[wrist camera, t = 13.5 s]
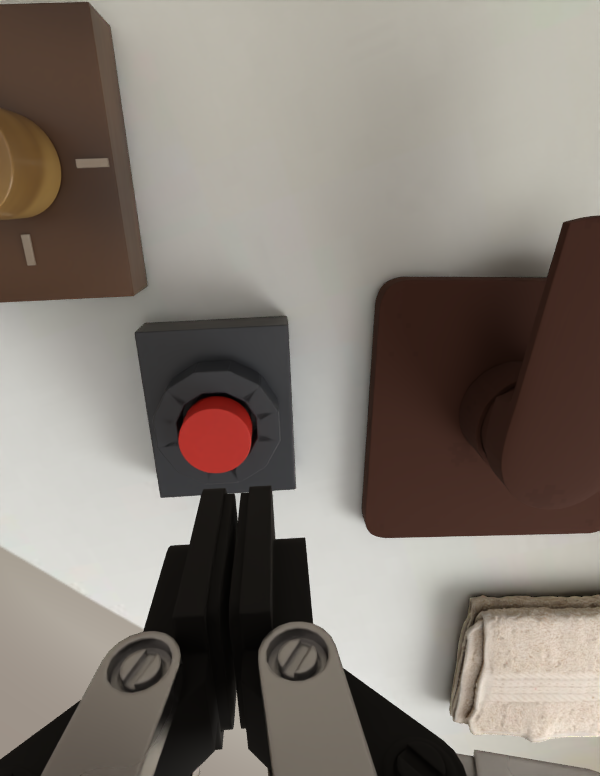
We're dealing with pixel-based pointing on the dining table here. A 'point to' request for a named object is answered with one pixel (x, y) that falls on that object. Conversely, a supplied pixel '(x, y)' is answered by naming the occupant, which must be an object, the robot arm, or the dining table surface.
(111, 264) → the dimmer panel
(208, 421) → the power button
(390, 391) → the lever handle
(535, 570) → the dining table surface
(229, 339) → the switch block
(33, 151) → the dimmer knob
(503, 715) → the washcloth
